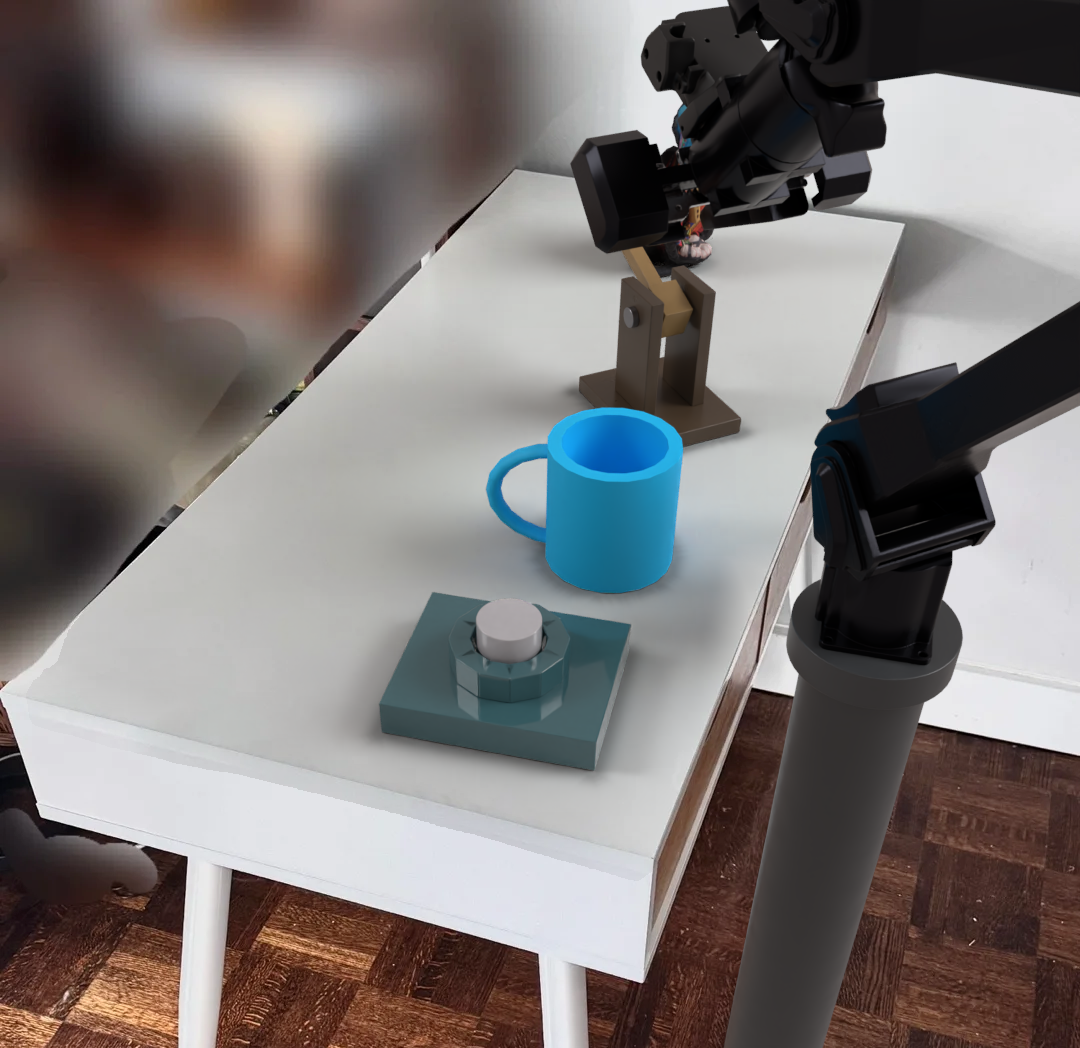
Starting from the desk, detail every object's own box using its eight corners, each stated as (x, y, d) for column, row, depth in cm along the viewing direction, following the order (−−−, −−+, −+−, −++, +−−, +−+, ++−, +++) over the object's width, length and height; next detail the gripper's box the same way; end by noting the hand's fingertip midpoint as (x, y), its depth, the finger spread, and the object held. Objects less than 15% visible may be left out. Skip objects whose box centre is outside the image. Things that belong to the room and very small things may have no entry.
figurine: (685, 293, 111) (703, 107, 101) (617, 268, 114) (627, 84, 104) (749, 253, 117) (773, 72, 106) (683, 230, 120) (699, 53, 110)
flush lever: (584, 229, 96) (593, 195, 94) (623, 222, 97) (634, 187, 95) (648, 345, 93) (660, 312, 90) (688, 335, 94) (701, 303, 91)
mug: (677, 523, 88) (689, 414, 82) (665, 600, 82) (676, 488, 76) (498, 503, 89) (497, 395, 83) (474, 578, 83) (471, 467, 78)
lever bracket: (578, 390, 100) (582, 265, 93) (671, 368, 102) (682, 245, 95) (642, 457, 93) (652, 328, 86) (740, 432, 96) (757, 305, 89)
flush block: (629, 652, 78) (633, 599, 76) (594, 771, 71) (597, 717, 69) (433, 619, 80) (430, 566, 77) (381, 732, 73) (375, 679, 70)
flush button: (548, 627, 74) (549, 603, 73) (533, 669, 72) (533, 645, 71) (486, 617, 75) (485, 593, 74) (468, 658, 72) (468, 634, 71)
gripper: (880, -47, 76) (753, 91, 91) (591, -9, 71) (506, 132, 85) (935, 141, 77) (800, 248, 92) (653, 194, 71) (557, 300, 86)
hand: (669, 229), depth 89 cm, fingers open, 5 cm apart
